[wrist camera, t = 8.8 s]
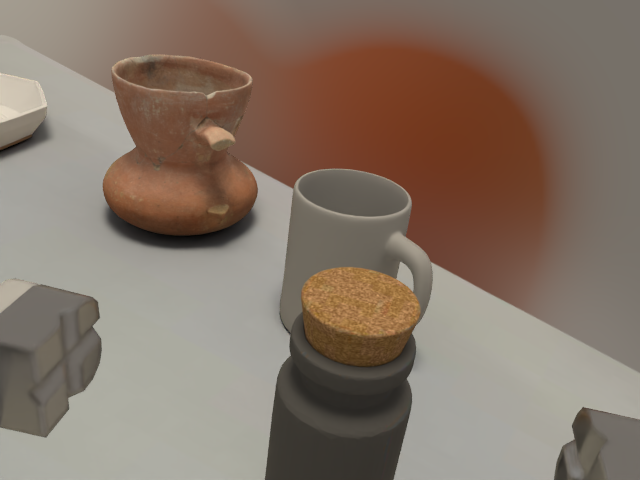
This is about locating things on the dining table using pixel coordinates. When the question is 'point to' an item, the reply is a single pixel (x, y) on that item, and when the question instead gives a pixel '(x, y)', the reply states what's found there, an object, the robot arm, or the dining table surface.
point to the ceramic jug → (180, 145)
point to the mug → (349, 233)
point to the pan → (19, 109)
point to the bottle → (345, 379)
